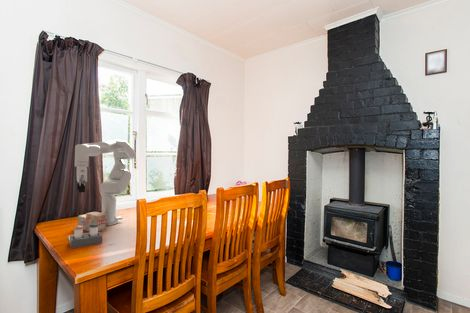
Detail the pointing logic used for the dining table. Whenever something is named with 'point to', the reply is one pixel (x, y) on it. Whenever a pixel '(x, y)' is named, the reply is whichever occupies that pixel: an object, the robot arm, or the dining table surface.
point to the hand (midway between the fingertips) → (81, 191)
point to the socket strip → (85, 240)
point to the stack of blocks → (92, 220)
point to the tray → (73, 235)
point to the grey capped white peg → (93, 229)
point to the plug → (78, 231)
